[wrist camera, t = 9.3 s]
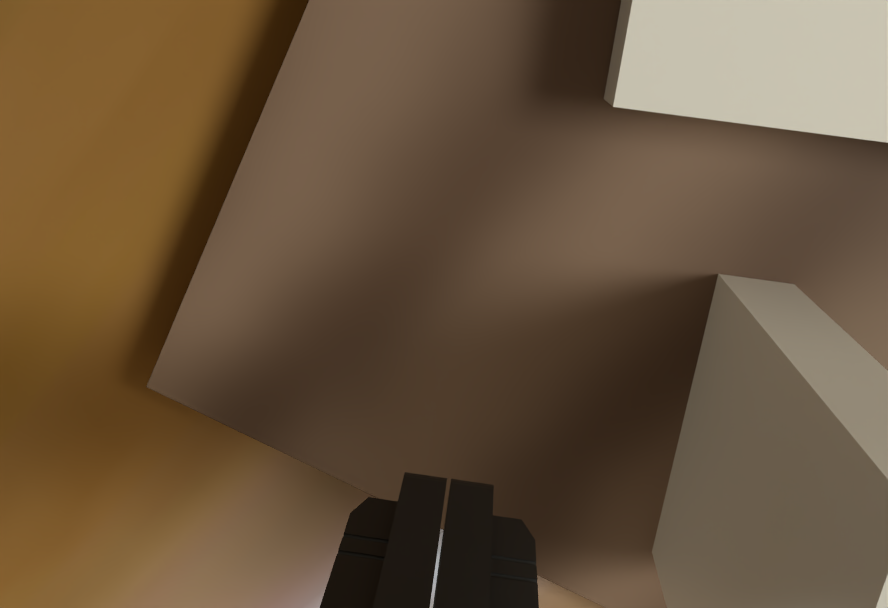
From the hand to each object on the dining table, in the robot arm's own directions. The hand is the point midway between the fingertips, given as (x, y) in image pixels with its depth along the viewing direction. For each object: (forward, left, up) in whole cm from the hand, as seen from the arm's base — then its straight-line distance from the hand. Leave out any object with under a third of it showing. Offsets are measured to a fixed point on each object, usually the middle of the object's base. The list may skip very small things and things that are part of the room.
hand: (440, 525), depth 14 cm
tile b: (+5, +2, -5) cm, 8 cm away
